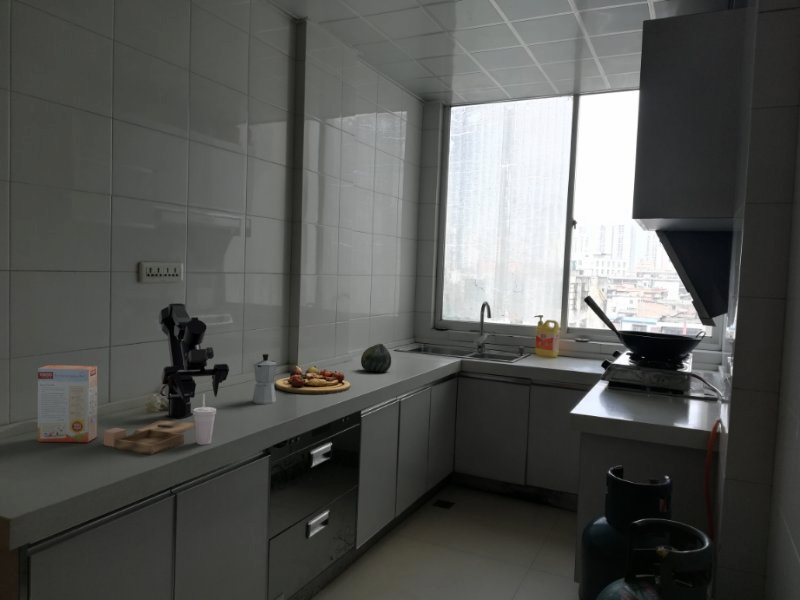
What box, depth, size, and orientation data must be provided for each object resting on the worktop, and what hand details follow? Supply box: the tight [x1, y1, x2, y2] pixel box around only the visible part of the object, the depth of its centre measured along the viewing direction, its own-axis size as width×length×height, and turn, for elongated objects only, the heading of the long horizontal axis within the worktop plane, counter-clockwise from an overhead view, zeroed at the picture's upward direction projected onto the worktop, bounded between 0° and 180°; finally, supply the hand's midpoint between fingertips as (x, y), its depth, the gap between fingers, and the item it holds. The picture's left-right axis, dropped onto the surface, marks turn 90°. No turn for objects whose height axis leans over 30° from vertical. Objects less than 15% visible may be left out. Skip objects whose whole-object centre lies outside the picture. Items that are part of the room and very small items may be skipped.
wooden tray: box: [115, 429, 185, 456], centre depth 169 cm, size 12×12×2 cm
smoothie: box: [192, 393, 217, 446], centre depth 173 cm, size 6×6×14 cm
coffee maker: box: [252, 353, 277, 405], centre depth 229 cm, size 15×9×18 cm, turn 168°
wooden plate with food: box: [274, 366, 351, 395], centre depth 259 cm, size 32×32×8 cm
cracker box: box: [37, 364, 98, 443], centre depth 171 cm, size 14×6×21 cm, turn 92°
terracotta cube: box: [103, 427, 127, 448], centre depth 169 cm, size 4×4×4 cm
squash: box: [360, 343, 392, 373], centre depth 302 cm, size 14×15×15 cm
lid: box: [134, 419, 195, 434], centre depth 186 cm, size 12×12×1 cm
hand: (200, 397), depth 178 cm, fingers open, 9 cm apart
